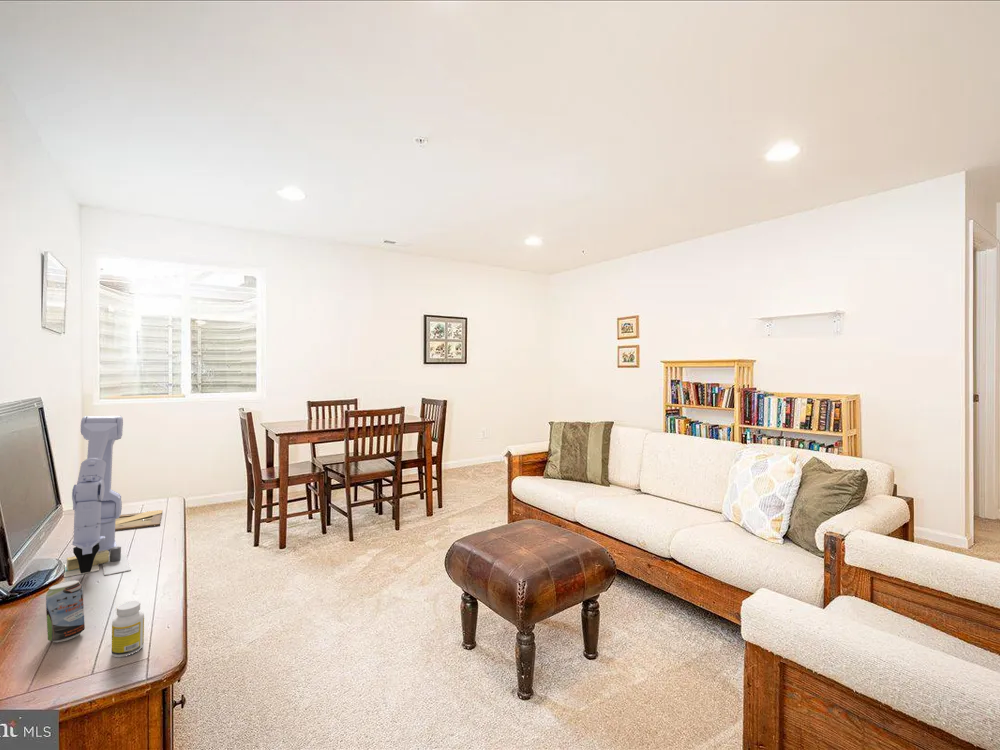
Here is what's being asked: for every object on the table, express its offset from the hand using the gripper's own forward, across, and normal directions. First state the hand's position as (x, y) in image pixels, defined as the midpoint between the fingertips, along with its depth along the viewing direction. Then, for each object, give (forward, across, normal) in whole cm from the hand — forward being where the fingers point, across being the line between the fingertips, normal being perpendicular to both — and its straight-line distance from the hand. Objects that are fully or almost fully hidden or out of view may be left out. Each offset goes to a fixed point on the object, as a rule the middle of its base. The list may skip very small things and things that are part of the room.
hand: (85, 571), depth 135 cm
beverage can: (+1, -37, +4) cm, 37 cm away
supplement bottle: (+1, -51, -6) cm, 51 cm away
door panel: (+1, +5, -3) cm, 6 cm away
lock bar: (+1, +7, -1) cm, 7 cm away
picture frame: (+2, +50, -11) cm, 51 cm away
